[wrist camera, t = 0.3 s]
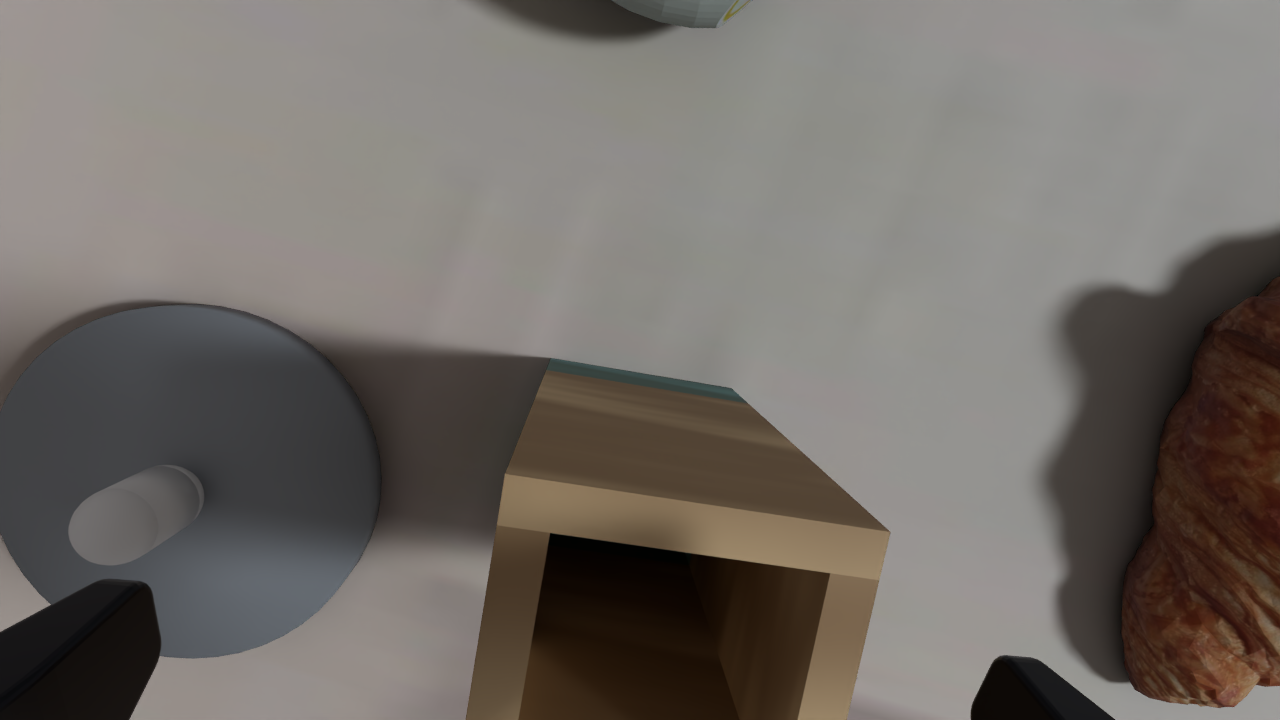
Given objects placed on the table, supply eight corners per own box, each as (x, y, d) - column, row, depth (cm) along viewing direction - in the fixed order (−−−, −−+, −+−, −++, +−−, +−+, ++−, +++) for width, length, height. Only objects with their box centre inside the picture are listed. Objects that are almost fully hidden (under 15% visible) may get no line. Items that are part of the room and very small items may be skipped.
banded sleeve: (697, 559, 24) (810, 874, 12) (521, 534, 24) (447, 836, 11) (731, 388, 23) (889, 531, 11) (551, 358, 23) (504, 473, 10)
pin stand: (216, 702, 24) (112, 824, 18) (-57, 473, 22) (-255, 538, 17) (452, 479, 23) (413, 542, 18) (192, 228, 21) (67, 218, 16)
